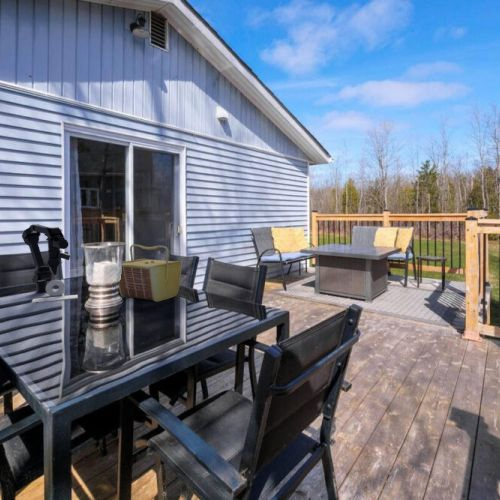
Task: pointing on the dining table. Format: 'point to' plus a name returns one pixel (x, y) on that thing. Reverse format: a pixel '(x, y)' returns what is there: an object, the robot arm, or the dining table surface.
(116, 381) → the dining table surface
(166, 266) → the picnic basket
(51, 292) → the donut
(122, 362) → the dining table surface
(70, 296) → the placemat
